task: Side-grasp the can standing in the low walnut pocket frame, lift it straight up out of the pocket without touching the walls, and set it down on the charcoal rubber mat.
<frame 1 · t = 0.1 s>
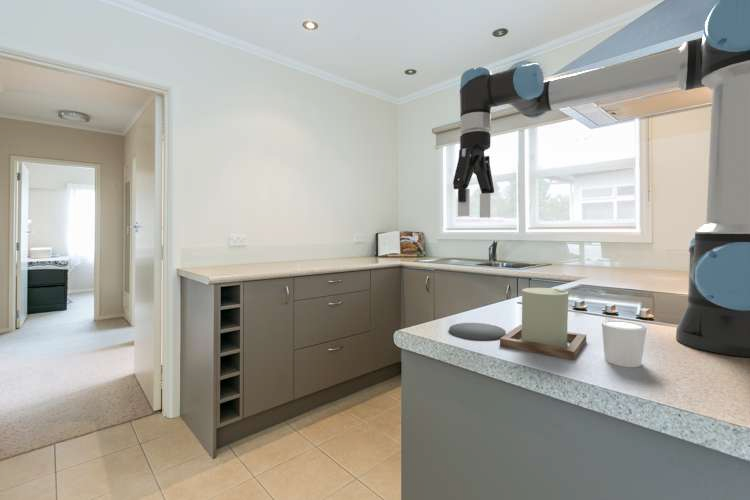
hand: (474, 217, 95), 28 cm above the counter, tool pointing down, fingers open, 13 cm apart
can: (543, 344, 79), resting in pocket
shot glass: (622, 362, 68), on the counter
pocket: (543, 343, 79), on the counter
mat: (476, 332, 88), on the counter
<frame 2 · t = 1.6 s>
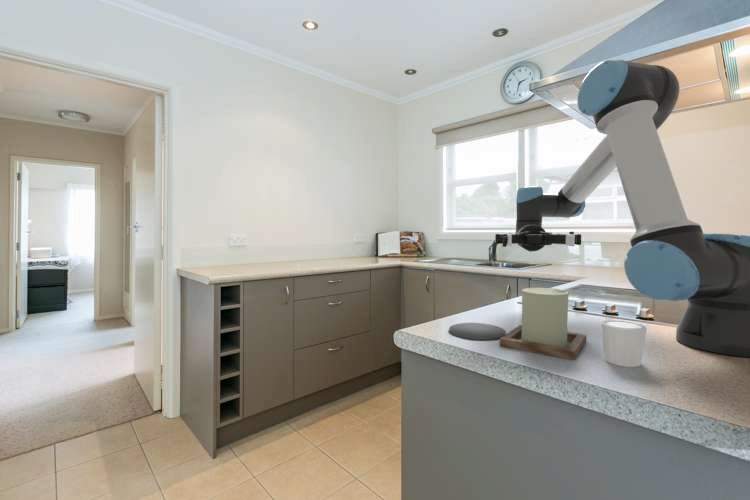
hand: (540, 240, 87), 22 cm above the counter, tool horizontal, fingers open, 13 cm apart
nothing on the counter moved.
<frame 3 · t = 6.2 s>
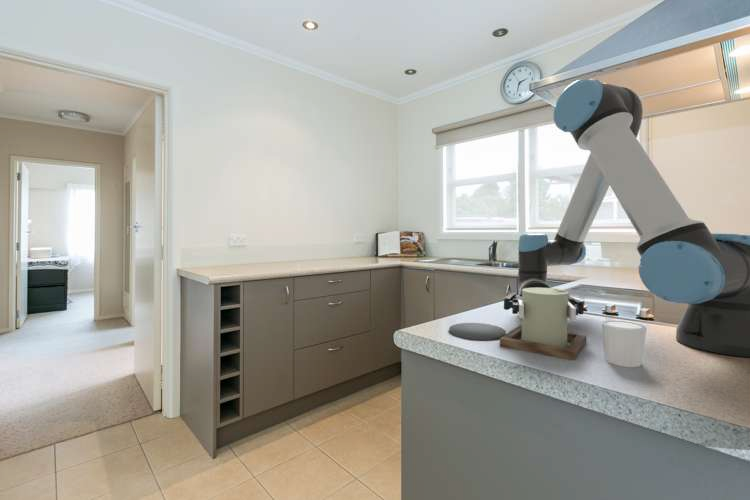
hand: (547, 313, 74), 8 cm above the counter, tool horizontal, fingers closed on can, 9 cm apart
can: (543, 344, 79), resting in pocket, touching gripper
everything else where it was.
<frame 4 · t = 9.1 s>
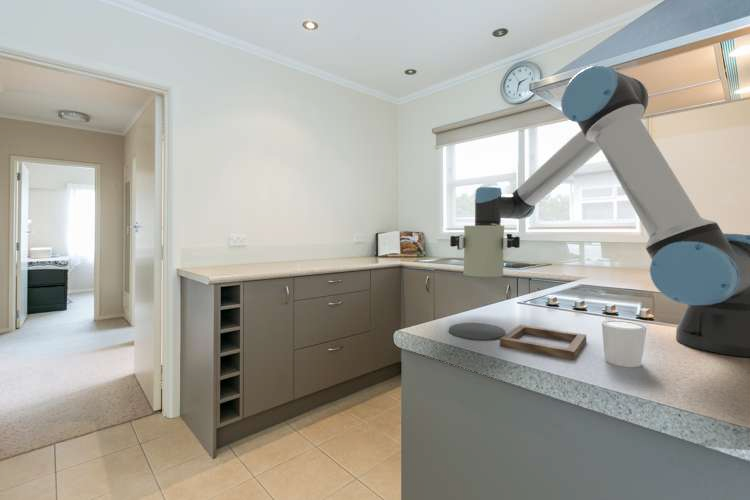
hand: (482, 243, 82), 22 cm above the counter, tool horizontal, fingers closed on can, 9 cm apart
can: (482, 275, 87), point 14 cm above the counter, touching gripper
everything else where it was.
when the fingers open (9 cm above the counter, at t = 12.0 s): can drops 1 cm, resting on mat.
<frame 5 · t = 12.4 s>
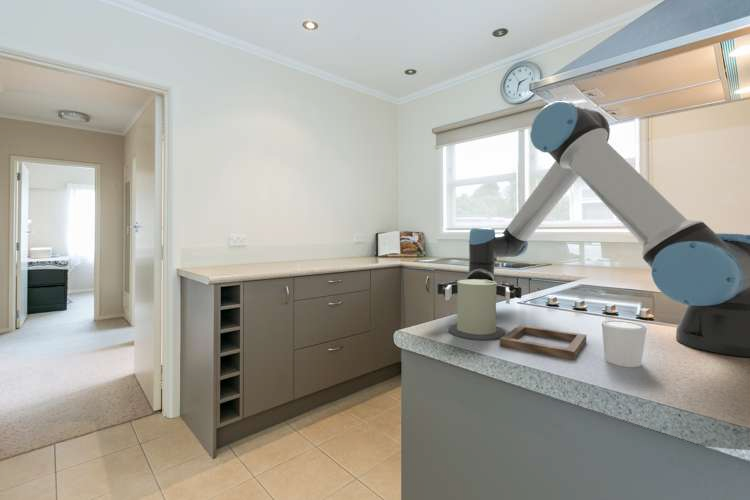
hand: (476, 296, 85), 9 cm above the counter, tool horizontal, fingers open, 13 cm apart
can: (476, 330, 88), resting on mat
everything else where it was.
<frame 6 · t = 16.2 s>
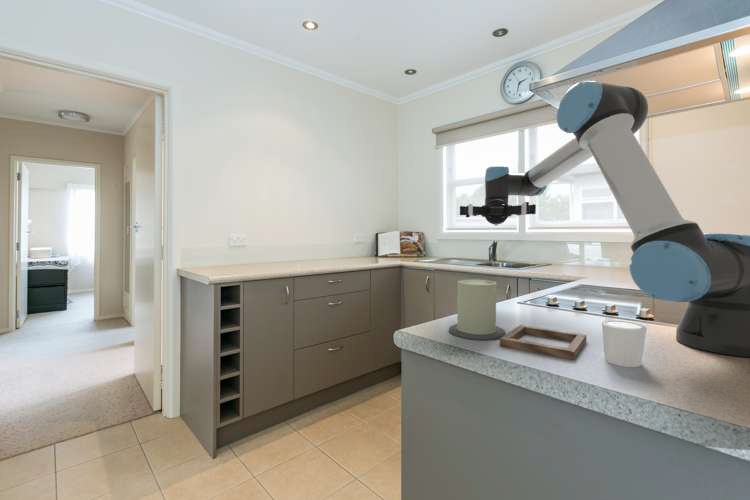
hand: (496, 208, 96), 30 cm above the counter, tool horizontal, fingers open, 13 cm apart
nothing on the counter moved.
at the end: can 0.2 cm from the mat (horizontally); can tilted 0°; can resting on mat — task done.
